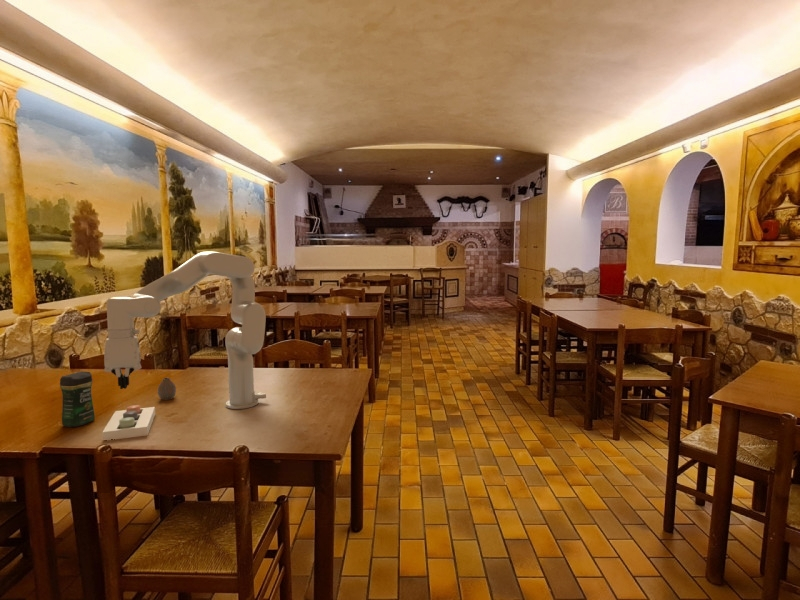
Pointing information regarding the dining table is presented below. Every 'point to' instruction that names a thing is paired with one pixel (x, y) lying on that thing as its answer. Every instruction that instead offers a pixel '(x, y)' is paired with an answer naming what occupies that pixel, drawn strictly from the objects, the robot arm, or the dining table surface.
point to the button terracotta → (134, 408)
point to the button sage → (127, 422)
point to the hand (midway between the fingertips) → (123, 387)
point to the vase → (166, 389)
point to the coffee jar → (77, 399)
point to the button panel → (139, 430)
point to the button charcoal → (131, 414)
